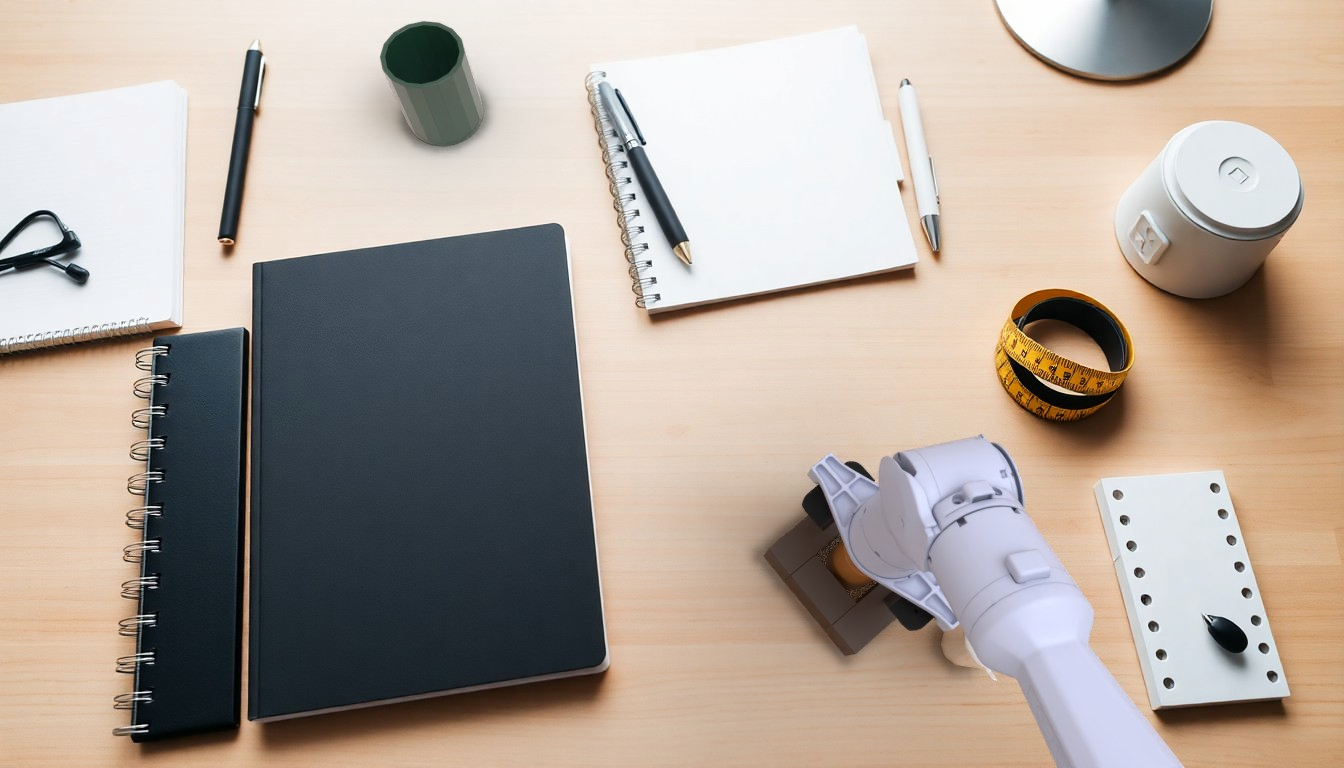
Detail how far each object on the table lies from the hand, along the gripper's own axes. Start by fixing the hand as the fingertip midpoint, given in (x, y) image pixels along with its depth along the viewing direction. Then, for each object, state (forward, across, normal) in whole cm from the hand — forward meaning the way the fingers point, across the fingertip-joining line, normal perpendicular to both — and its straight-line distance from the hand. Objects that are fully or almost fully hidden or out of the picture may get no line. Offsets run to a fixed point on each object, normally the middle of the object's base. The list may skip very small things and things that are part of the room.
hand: (861, 557), depth 67 cm
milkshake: (+5, -11, -2) cm, 12 cm away
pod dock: (+5, 0, 0) cm, 5 cm away
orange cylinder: (+5, 0, 0) cm, 5 cm away
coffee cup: (+5, +62, +2) cm, 62 cm away
